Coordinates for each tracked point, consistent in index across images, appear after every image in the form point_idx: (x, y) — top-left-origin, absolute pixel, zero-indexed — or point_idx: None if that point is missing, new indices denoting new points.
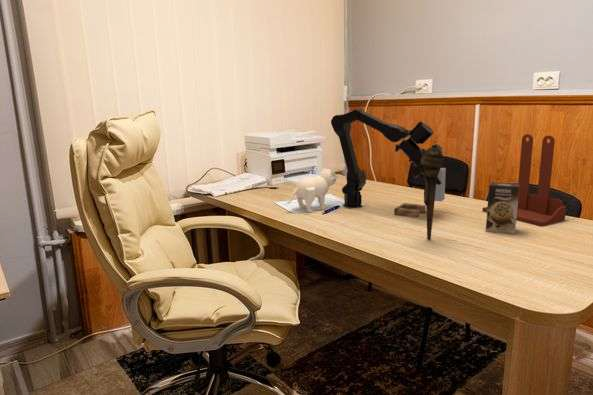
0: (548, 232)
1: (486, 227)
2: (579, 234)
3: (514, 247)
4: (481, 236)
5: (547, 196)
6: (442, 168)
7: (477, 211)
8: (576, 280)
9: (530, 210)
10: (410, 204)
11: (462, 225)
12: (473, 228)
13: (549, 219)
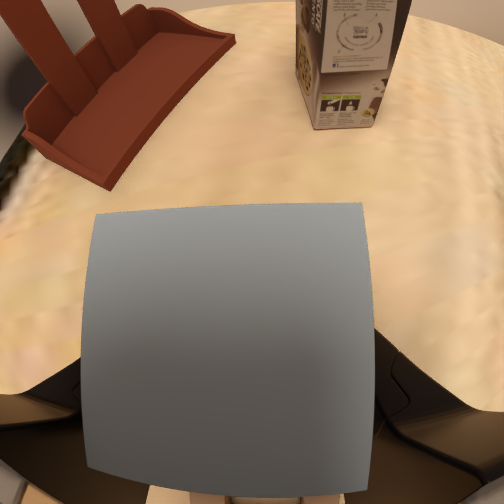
0: (279, 31)
1: (375, 116)
2: (262, 7)
3: (437, 76)
4: (424, 133)
5: (120, 15)
6: (163, 266)
7: (112, 206)
8: (480, 40)
9: (101, 83)
10: (208, 500)
11: (352, 202)
12: (364, 161)
13: (205, 28)
